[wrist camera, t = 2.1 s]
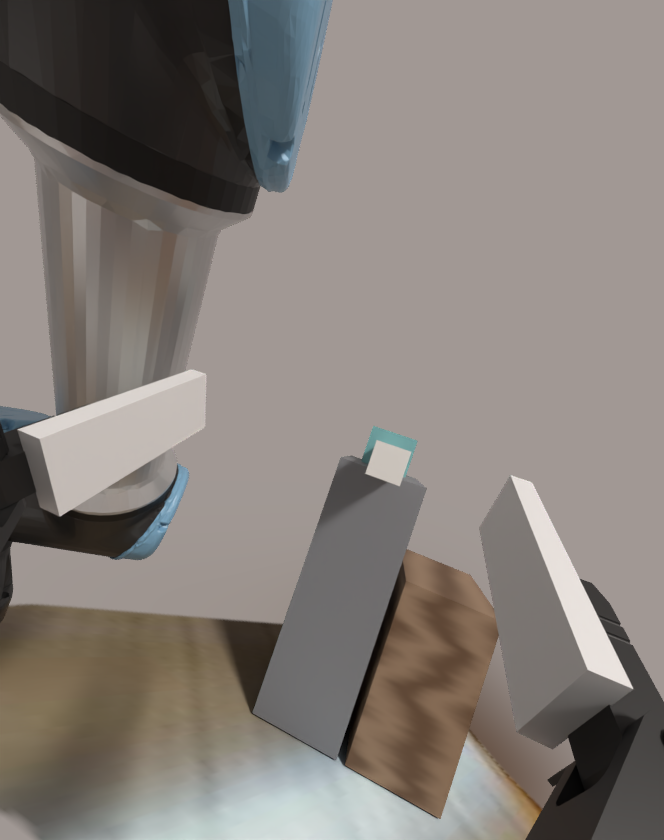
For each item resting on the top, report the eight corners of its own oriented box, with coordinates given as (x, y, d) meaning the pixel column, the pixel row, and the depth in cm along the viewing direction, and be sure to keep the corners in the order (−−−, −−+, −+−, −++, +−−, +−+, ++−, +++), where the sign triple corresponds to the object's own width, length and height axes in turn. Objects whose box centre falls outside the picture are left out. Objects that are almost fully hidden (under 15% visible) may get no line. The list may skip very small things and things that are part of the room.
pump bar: (348, 467, 26) (367, 412, 26) (364, 460, 47) (374, 429, 47) (417, 492, 25) (437, 434, 25) (402, 473, 46) (413, 442, 46)
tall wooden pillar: (345, 765, 32) (406, 580, 33) (355, 681, 44) (400, 546, 45) (440, 819, 30) (502, 622, 31) (424, 716, 42) (470, 575, 43)
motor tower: (252, 712, 34) (340, 457, 35) (286, 646, 46) (351, 455, 47) (336, 760, 32) (426, 488, 34) (348, 677, 44) (415, 478, 45)
